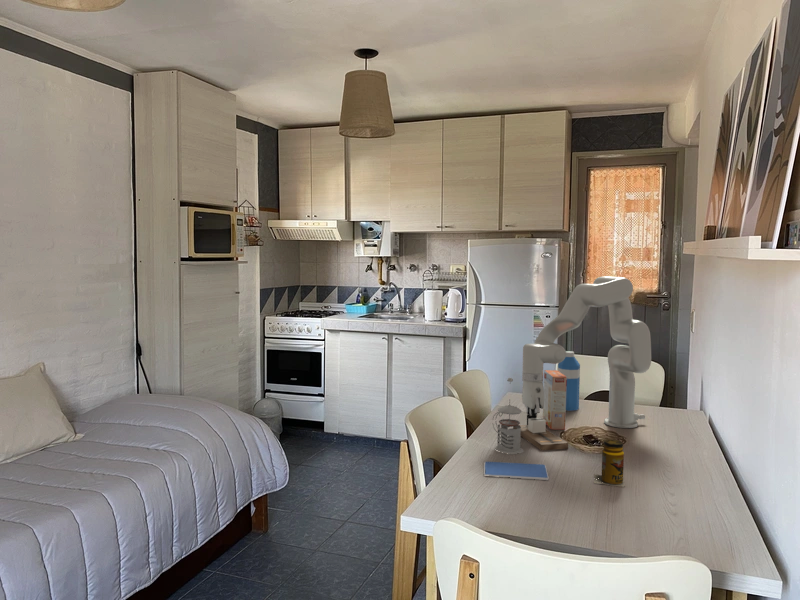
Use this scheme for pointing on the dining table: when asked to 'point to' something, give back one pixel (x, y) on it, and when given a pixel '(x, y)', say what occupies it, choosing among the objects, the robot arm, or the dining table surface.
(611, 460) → the condiment
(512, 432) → the french press
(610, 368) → the robot arm
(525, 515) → the dining table surface
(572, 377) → the water bottle
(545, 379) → the cracker box
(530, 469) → the tablet computer
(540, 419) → the fader knob
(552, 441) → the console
